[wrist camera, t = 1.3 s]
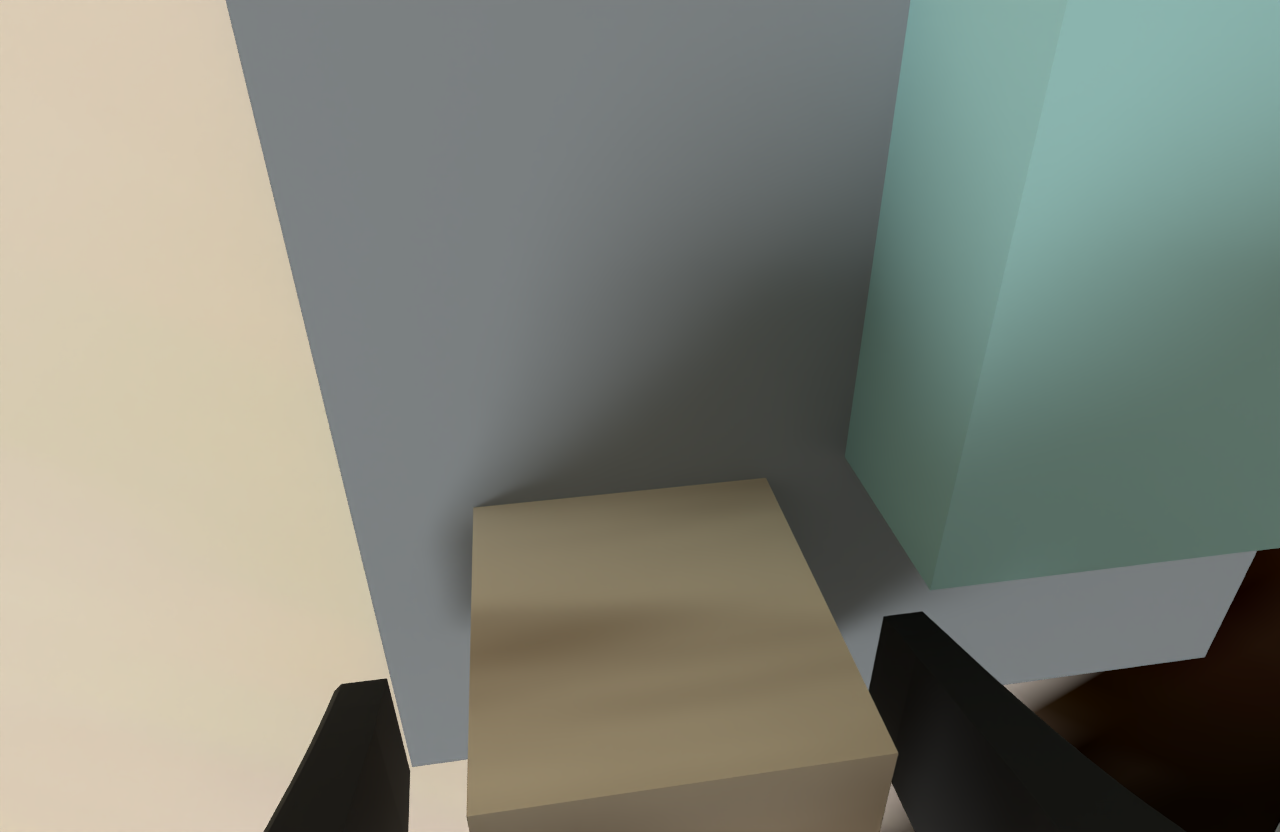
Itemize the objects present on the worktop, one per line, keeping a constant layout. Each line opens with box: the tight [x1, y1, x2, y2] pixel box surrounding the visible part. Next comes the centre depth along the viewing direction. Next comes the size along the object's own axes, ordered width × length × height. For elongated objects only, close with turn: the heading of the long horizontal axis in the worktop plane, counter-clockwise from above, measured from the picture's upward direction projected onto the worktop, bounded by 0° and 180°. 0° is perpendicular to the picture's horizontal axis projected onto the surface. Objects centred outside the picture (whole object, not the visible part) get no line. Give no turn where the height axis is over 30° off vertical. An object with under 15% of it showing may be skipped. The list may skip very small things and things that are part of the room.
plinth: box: [845, 0, 1280, 590], centre depth 10 cm, size 7×7×3 cm
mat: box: [226, 0, 1257, 767], centre depth 13 cm, size 13×16×1 cm
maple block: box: [467, 478, 898, 832], centre depth 12 cm, size 4×4×5 cm
